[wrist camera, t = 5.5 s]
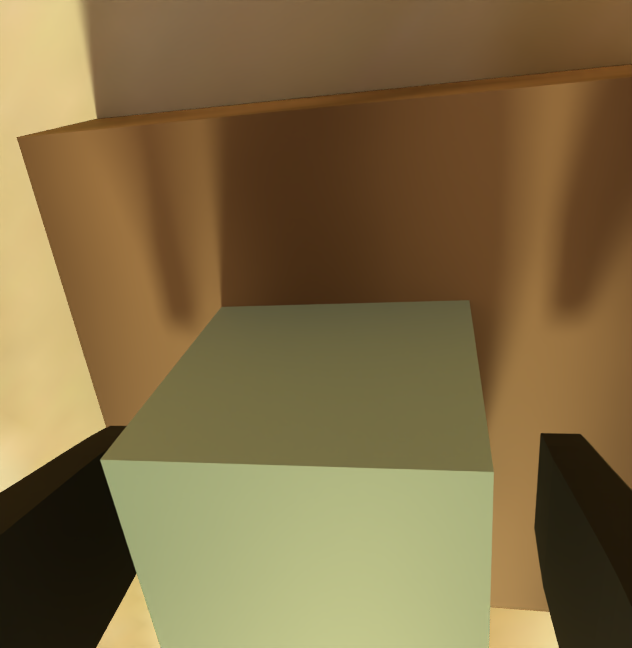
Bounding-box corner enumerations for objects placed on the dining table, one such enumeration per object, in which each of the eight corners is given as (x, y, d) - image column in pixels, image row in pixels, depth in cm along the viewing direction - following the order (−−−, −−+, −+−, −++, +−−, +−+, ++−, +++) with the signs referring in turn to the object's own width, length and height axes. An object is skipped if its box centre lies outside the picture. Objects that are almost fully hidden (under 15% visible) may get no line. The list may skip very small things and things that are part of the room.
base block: (643, 62, 11) (706, 69, 9) (588, 524, 16) (618, 617, 14) (95, 119, 14) (16, 137, 11) (192, 505, 19) (153, 581, 16)
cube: (469, 300, 11) (493, 472, 7) (468, 503, 13) (486, 737, 9) (221, 307, 12) (100, 459, 8) (257, 494, 14) (177, 698, 10)
